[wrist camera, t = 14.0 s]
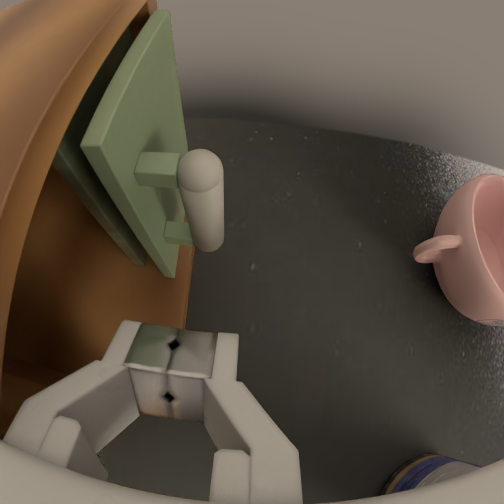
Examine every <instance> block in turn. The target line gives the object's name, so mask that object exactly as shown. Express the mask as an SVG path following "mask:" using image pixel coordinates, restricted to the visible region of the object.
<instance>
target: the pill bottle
mask: <svg viewBox="0 0 504 504" xmlns="http://www.w3.org/2000/svg"><path fill="white" fill-rule="evenodd" d="M480 468H482V467H481V466H478V465H474V464H471V463H467V462H463V461H460V460H456V459H453V458H449V457H446V456H442V455H439V454H424V455H421V456H418V457H416V458H414V459H412V460H410V461H408V462H406V463H405V464H404V465H402V466H401V467H400V468H399V469H398V470H397V471H396V472H395V473H394V474H393V475H392V476H391V477H390V478H389V480H388V481H387V483H386V484H385V486H384V488H383V490H382V492H381V495H387V494H392V493H397V492H401V491H406V490H410V489H415V488H419V487H423V486H426V485H430V484H434V483H437V482H441V481H444V480H447V479H451V478H454V477H457V476H460V475H463V474H466V473H469V472H471V471H474V470H477V469H480ZM381 495H380V496H381Z"/></svg>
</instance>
